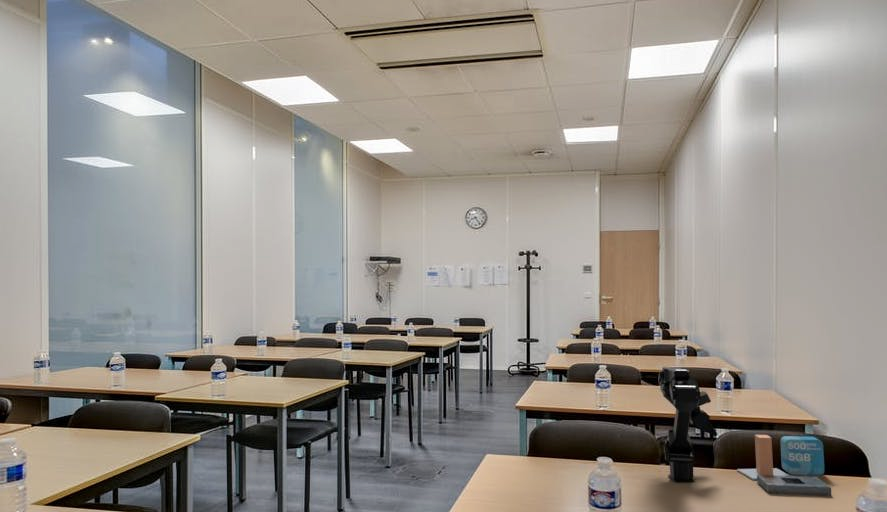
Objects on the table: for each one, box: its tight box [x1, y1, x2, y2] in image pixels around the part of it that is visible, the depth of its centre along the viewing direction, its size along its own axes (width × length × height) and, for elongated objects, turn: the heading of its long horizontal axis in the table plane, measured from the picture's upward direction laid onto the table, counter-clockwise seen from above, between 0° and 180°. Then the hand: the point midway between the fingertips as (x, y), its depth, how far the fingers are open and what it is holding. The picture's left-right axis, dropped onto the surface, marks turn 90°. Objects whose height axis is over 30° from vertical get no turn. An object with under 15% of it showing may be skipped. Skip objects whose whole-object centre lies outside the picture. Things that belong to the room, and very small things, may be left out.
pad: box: [736, 467, 791, 481], centre depth 200 cm, size 14×10×1 cm
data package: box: [779, 435, 825, 476], centre depth 202 cm, size 12×4×12 cm, turn 80°
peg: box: [754, 434, 774, 475], centre depth 200 cm, size 4×4×12 cm
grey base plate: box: [756, 475, 832, 497], centre depth 186 cm, size 18×10×2 cm, turn 79°
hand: (713, 431), depth 206 cm, fingers open, 9 cm apart
